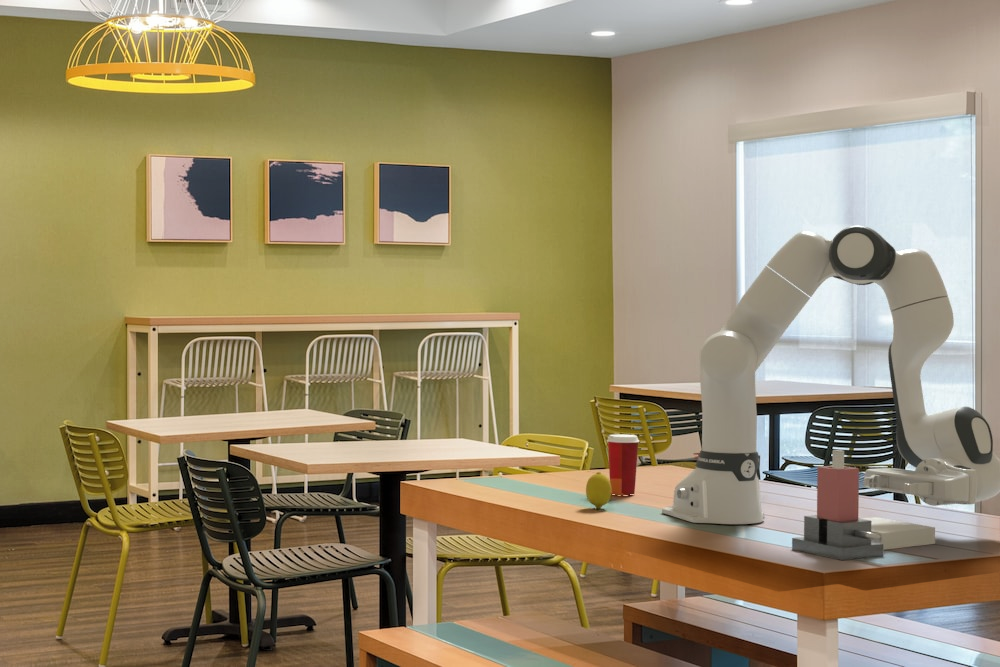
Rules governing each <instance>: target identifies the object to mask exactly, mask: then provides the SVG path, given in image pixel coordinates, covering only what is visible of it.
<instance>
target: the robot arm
mask: <svg viewBox="0 0 1000 667" xmlns="http://www.w3.org/2000/svg"><path fill="white" fill-rule="evenodd" d="M830 278H835V279H838V280H842V281H844V282H847V283H849V284H852V285H853V284H854V285H858V286H867V285H871V284H874V283H875V284H877V285H879V287H881V289H882V291H883V293H884V294H885V298H886V299H887V303H888V305H889V306H888V307H889V310H890V313H891V317H892V324H893V325H892V326H893V333H892V334H893V336H892V341H891V343H890V344H889V347H888V354H887V355H888V358H887V359H888V368H889V378H890V384H891V389H892V397H893V403H894V410H895V411H894V412H895V417H896V418H895V420H896V438H895V440H896V446H897V449H898V450H897V451H898V452H899V454H900V455H901V457H902V458H903V459H904V461H906V463H908V464H910V465H911V466H912V467H914V468H915V470H911V469H910V470H909V469H904V468H893V467H885V468H884V467H882V468H881V467H880V468H868V469H866V470H865V473H864V477H863V481H862V482H863V484H862V485H863V488H867V489H872V490H878V491H884V492H886V491H887V492H892V493H897V494H904V495H905V494H906V495H911V496H917V497H919V499H920V500H921V501H922V502H923V503H925V504H927V505H929V506H934V507H936V506H948V505H949V506H950V505H956V504H958V505H975V504H976V503H978V502H983V501H986V500H991V499H992V498H994V497H996V496H997V495H998V494H1000V458H999V457H998V456H997V455H996V453H995V452H994V448H993V447H994V446H993V445H994V442H993V435H992V434H993V432H992V430H991V426H990V425H989V423H988V420H986V419H985V417H984V416H983V415H982V414H981V412H979V411H977V410H976V409H974V408H972V407H970V406H962V407H956V408H952V409H948V410H944V411H942V412H938V413H933V414H929V415H928V414H927V413H926V408H925V401H924V395H923V386H922V379H921V375H922V374H921V372H922V369H923V366H924V364H925V362H926V361H927V360H928V359H929V357H930V356H931V355H932V354H933V353H935V352H936V351H937V350H938V349H939V348H940V347H941V346H942V345H943V344H944V343H946V341H947V340H948V338H949V337H950V335H951V333H952V330H953V328H954V320H955V319H954V312H953V308H952V304H951V301H950V298H949V295H948V292H947V288H946V286H945V283H944V281H943V278H942V276H941V273H940V271H939V269H938V267H937V265H936V263H935V262H934V260H933V258H932V255H930V254H929V253H928V252H927V251H925V250H923V249H919V248H906V249H902V250H896V249H895V247H894V246H892V244H890V243H889V242H888V241H887V240H886V239H885V238H884V237H883V236H882V235H881V234H880V233H878V231H876V230H874V229H872V228H871V227H868V226H865V225H851V226H848V227H845V228H843V229H841V230H840V231H839V232H838V233H837V234H836V235H834V237H833V238H832V239H828V238H825V237H823V236H822V235H820V234H818V233H817V232H816V233H815V232H813V231H805V230H804V231H799V232H797V233H796V234H794V235H792V237H791V238H790V239H789V240H788V241H786V243H785V244H784V245H782V247H781V248H779V250H778V251H777V252H776V253H775V254H774V255H773V256H772V257H771V258H770V260H769V261H768V263H767V264H766V265H765V266H764V268H762V270H761V272H760V273H759V275H758V276H757V277H756V278H755V280H754V281H753V282H752V283H751V285H750V286H749V287H748V288H747V290H746V292H744V294H743V295H742V297H741V299H739V302H738V303H737V304H736V306H735V308H734V309H733V310H732V312H731V314H730V315H729V317H728V319H727V320H726V321H725V323H723V326H722V327H721V328H720V329H719V331H718V332H715V333H713V334H711V335H710V336H709V337H707V338H706V339H705V341H704V342H703V343H702V346H701V348H700V350H699V351H700V352H699V378H700V380H699V381H700V384H699V385H700V398H701V410H702V411H701V413H702V416H701V418H702V425H701V426H702V428H701V429H702V430H701V432H702V433H701V436H702V437H701V449H700V451H699V452H694V453H693V455H695V456H693V457H692V459H696V464H695V468H694V469H693V470H692V471H691V472H690V473H688V475H686V476H685V477H684V478H683V479H681V481H680V482H678V483H677V484H676V485H675V487H674V491H673V492H674V493H673V501H672V502H673V504H672V505H671V506H665V507H663V508H662V509H661V513H662V514H665V515H668V516H671V517H674V518H677V519H680V520H684V521H687V522H690V523H693V524H720V525H748V524H759V523H763V522H764V518H765V517H766V516H765V512H764V511H763V508H762V498H761V496H762V495H761V488H760V487H761V486H760V478H759V479H758V477H757V469H758V468H759V458H758V455H759V452H758V451H757V430H758V428H757V427H758V426H757V424H758V419H757V418H758V413H757V396H756V394H757V393H756V371H758V369H759V367H760V366H761V365H762V364H763V362H764V361H765V359H766V358H767V356H769V354H770V353H771V352H772V350H773V348H774V347H775V346H776V344H777V343H778V342H779V340H780V339H781V337H783V334H784V333H785V332H786V330H787V329H788V328H789V327H790V326H791V324H792V322H793V321H794V319H796V317H797V316H798V314H799V313H800V312H801V311H802V310H803V309H804V307H805V306H806V304H807V303H808V302H809V300H810V299H811V298H812V297H813V295H814V294H815V293H816V291H817V290H818V289H819V287H820V286H821V285H822V284H823V283H824V282H825V281H826V280H828V279H830ZM696 455H697V456H696Z"/></svg>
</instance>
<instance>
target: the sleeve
mask: <svg viewBox="0 0 1000 667" xmlns="http://www.w3.org/2000/svg"><path fill="white" fill-rule="evenodd" d="M816 478H817V480H816V482H817V487H816V488H817V489H816V492H817V493H816V515H817V517H818V518H823V519H828V520H833V521H847V520H857V519H858V518H859V506H860V505H859V504H860V503H859V499H860V498H859V497H860V496H859V495H860V494H859V492H860V491H859V490H860V488H859V487H860V486H859V485H860V468H858V467H852V466H845V465H844V469H834V468H832V465H826V466H825V465H823V466H817V477H816Z"/></svg>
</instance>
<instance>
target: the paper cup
mask: <svg viewBox="0 0 1000 667" xmlns="http://www.w3.org/2000/svg"><path fill="white" fill-rule="evenodd" d="M606 442H607V448H608V451H607V452H608V468H609V469H608V470H609V471H608V472H609V481H610V484H611V494H615V495H630V494H634V495H635V492H636V482H637V481H636V479H637V465H638V455H639V454H638V452H639V443H640V440H639V438H638V436H637V435H635V434H622V433H621V434H619V433H618V434H617V433H616V434H608V437H607V439H606Z"/></svg>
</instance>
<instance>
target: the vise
mask: <svg viewBox="0 0 1000 667" xmlns="http://www.w3.org/2000/svg"><path fill="white" fill-rule="evenodd" d="M831 458H832V459H831V460H832V464H831V466H832V468H834V469H844V466H845V450H841V449H833V450H832V457H831ZM803 520H804V521H803V536H800V537H799V536H798V537H792V538H791V540H792V541H791V549H792V550H794V551H800V552H803V553H808V554H813V555H817V556H822V557H825V558H830V559H835V560H838V559H840V560H839V561H847V560H846V559H849V560H855V559H854V558H858V559H863V558H862V557H866V558H873V556H874V557H881V556H884V550H883V544H881V543H876V542H871V540H874V541H881V539H882V536H881V535H880V534H875V533H871V520H865V519H862V518H859V517H858V519H857V520H847V521H833V520H828V519H823V518H818V517H817V514H815V515H812V514H811V515H804V516H803Z"/></svg>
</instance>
